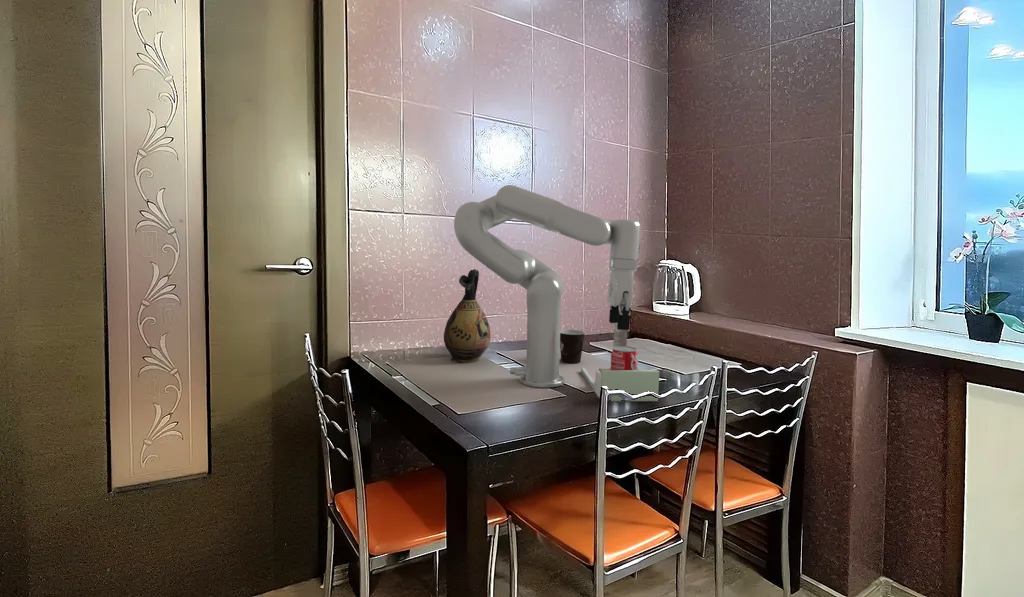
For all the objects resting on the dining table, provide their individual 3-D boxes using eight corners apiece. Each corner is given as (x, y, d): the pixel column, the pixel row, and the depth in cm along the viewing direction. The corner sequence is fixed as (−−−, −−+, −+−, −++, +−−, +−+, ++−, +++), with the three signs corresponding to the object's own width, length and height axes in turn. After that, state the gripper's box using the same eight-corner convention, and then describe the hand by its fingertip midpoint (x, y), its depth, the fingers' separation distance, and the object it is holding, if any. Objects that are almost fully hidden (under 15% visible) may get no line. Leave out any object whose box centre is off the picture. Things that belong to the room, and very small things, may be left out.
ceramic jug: (482, 367, 180) (484, 272, 176) (436, 363, 183) (437, 270, 179) (496, 355, 196) (498, 268, 192) (454, 351, 200) (454, 266, 196)
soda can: (634, 400, 149) (636, 352, 147) (607, 397, 151) (609, 349, 149) (638, 393, 155) (640, 346, 154) (611, 390, 158) (613, 344, 156)
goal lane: (601, 401, 148) (602, 371, 147) (581, 371, 177) (582, 346, 176) (657, 401, 149) (659, 371, 148) (628, 371, 178) (630, 346, 176)
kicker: (601, 390, 156) (604, 326, 154) (597, 384, 162) (600, 322, 159) (641, 390, 157) (644, 326, 155) (635, 385, 163) (638, 323, 160)
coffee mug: (558, 357, 194) (559, 329, 193) (583, 359, 193) (585, 330, 192) (556, 366, 183) (557, 335, 181) (583, 367, 182) (584, 337, 180)
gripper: (602, 262, 164) (598, 320, 167) (617, 267, 147) (612, 332, 150) (628, 263, 165) (624, 321, 167) (645, 268, 148) (640, 332, 150)
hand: (618, 326), depth 158 cm, fingers open, 9 cm apart
